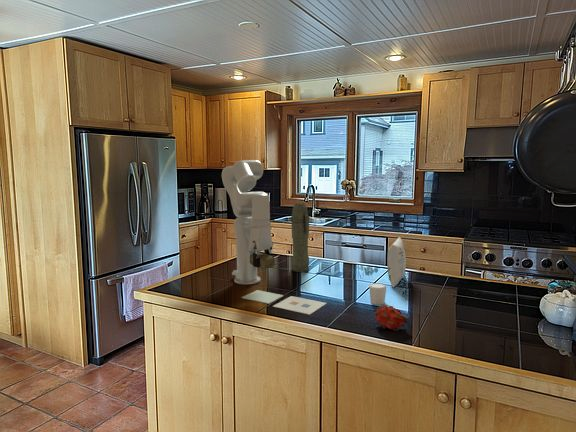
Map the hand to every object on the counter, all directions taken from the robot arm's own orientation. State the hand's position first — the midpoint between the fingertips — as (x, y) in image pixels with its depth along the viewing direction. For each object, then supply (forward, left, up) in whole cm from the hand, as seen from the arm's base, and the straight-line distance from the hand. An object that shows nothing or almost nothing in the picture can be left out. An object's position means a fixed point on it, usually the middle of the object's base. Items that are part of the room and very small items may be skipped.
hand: (262, 264), depth 175 cm
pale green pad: (0, 0, -14) cm, 14 cm away
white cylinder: (+44, +19, -15) cm, 50 cm away
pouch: (+42, +49, -15) cm, 66 cm away
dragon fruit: (+57, -3, -15) cm, 59 cm away
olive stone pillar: (-8, +45, -14) cm, 48 cm away
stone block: (0, 0, -1) cm, 1 cm away
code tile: (+18, 0, -14) cm, 23 cm away
